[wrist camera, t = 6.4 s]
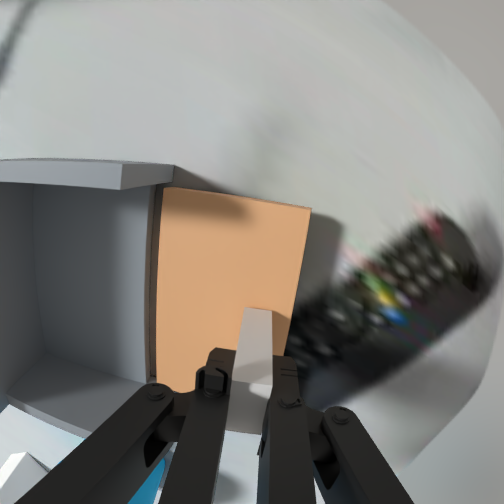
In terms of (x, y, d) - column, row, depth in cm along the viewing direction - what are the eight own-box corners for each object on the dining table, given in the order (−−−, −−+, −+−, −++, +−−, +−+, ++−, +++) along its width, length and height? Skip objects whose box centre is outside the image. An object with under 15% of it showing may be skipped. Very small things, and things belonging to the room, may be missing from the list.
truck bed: (34, 158, 18) (-63, 165, 9) (174, 164, 18) (96, 163, 9) (46, 353, 22) (-15, 413, 13) (163, 388, 22) (123, 478, 13)
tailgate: (163, 187, 17) (310, 210, 16) (173, 187, 18) (311, 207, 17) (156, 384, 20) (268, 416, 19) (164, 376, 22) (271, 405, 20)
